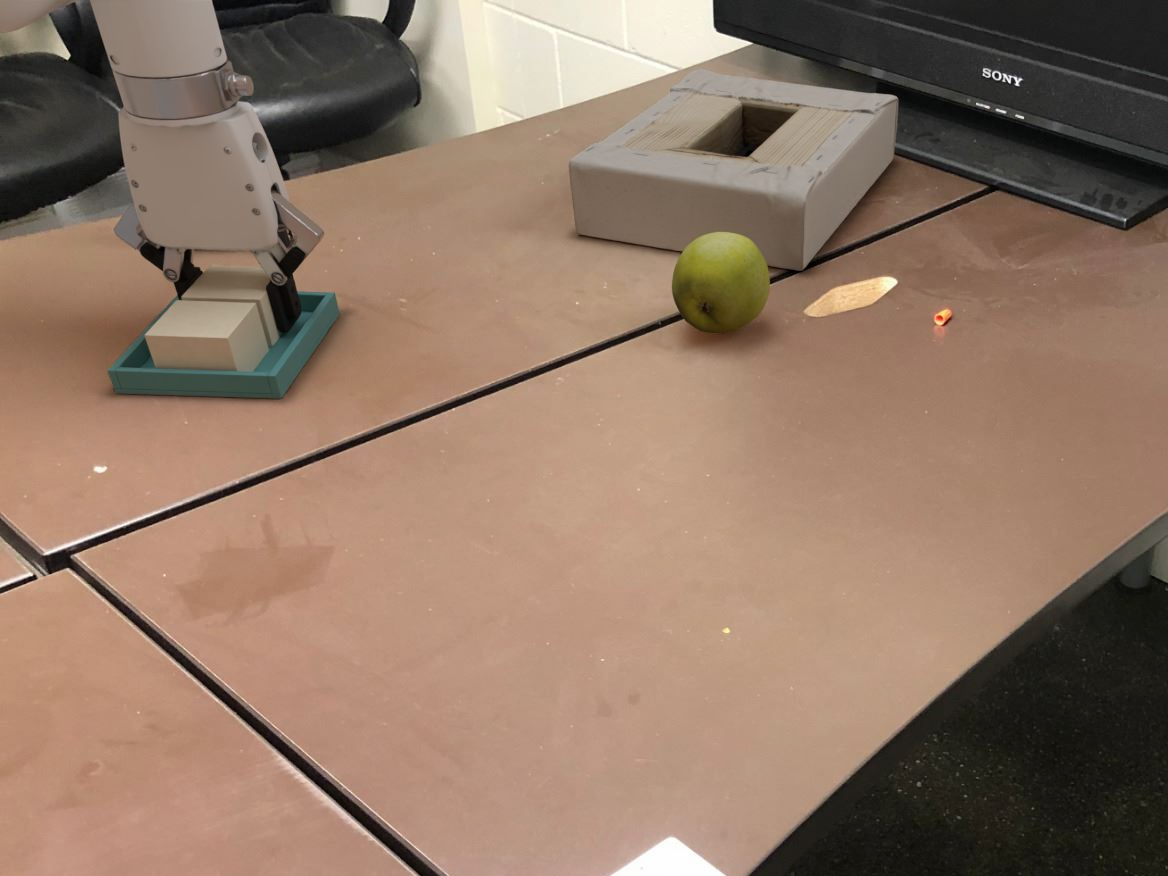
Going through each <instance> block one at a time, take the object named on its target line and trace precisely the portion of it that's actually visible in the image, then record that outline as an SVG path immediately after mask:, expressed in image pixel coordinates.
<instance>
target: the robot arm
mask: <svg viewBox="0 0 1168 876" xmlns="http://www.w3.org/2000/svg"><path fill="white" fill-rule="evenodd" d="M78 1H79V0H0V34H5V33H11V32H12V33H13V32H15V31H18V30H20V29H22V28H25V27H28V26H29V25H31V24H33V23H35V22H37V21H38V20H40V19H42V18H44V17H45V16H47V15H48V14H50V13H52V12H53V11H55V10H58V9H61V8H62V7H66V6H68V5H71V4H73V3H76V2H78ZM89 2H90V5H91V8H92V12H93V15H94V18H95V21H96V25H97V27H98V31H99V33H100V37H101V39H102V44H103V46H104V49H105V53H106V55H107V58H108V62H109V65H110V68H111V71H112V73H113V76H114V80H115V83H116V87H117V90H118V92H119V93H118V94H119V95H120V98H121V102H122V104H123V107H122V108H121V109H119V111H118V128H119V138H120V145H121V152H122V159H123V165H124V168H125V169H124V170H125V173H126V179H127V182H128V187H129V191H130V195H131V198H132V202H131V203H130V204H129V206H128V208H127V209H126V210H125V212H124V214H122V216H121V217H120V219H119V220H118V221H117V223H116V225H115V226H114V227H113V233H114V234H115V235H116V236H117V238H119V239H120V240H122V241H123V242H124V243H126V244H127V245H129V246H130V247H131V248H132V249H134V250H135V251H139V253H140V255H141V257H143V259H145V260H146V261H148V262H149V263H150V264H152V265H153V266H154V267H156V268H157V269H159V270H160V271H161V272H162V276H163V277H164V279H166V280H167V281H168V282H170V283H173V285H174V289H175V292H176V294H177V295H178V298H179V300H182V298H181V296H182V295H183V294H184V293H185V292H186V291H187V290H188V289H189V288H190V287H191V286H192V285H193V283H194V282H195V281H196V280H197V279H198V278H199V277H200V276H201V275H202V274H203V272H204V271H203V270H202V269H201V266H195V264H194V256H195V250H194V249H201V251H202V250H205V251H233V252H235V251H236V252H250V253H251V254H252V256H253V257H254V258H255V260H256V261H257V263H258V265H260V267H262V268H263V270H264V271H265V273H266V274H267V275H268V277H269V279H270V282H269V283H268V285H267V286H266V291H267V293H268V297H269V300H270V304H271V308H272V311H273V315H274V318H275V322H276V326H277V329H278V331H280V332H281V333H288V332H289V331H290V329H291V328H292V326H293V325H294V324H295V322H296V321H297V320H298V318H299V317H300V315H301V304H300V300H299V296H298V292H297V291H298V289H297V285H296V281H295V278H294V273H295V272H296V271H297V269H298V268H299V267H300V266H301V265H302V263H303V262H304V260H306V258H307V257H308V256H309V255H310V254H311V253H312V251H314V249H315V248H316V247H317V246H318V245H319V243H320V242H321V241H322V239H323V238H324V237H325V232H324V229H323V228H322V227H321V226H320V225H318V224H317V223H315V222H314V221H313V220H312V219H310V218H309V217H308V216H307V215H306V214H305V213H304V212H302V210H300V209H298V208H297V207H296V206H295V205H294V204H292V203H291V200H290V197H289V193H288V190H287V187H286V184H285V181H284V177H283V175H282V173H281V170H280V167H279V164H278V160H277V159H276V156H275V153H274V151H273V147H272V145H271V143H270V141H269V138H268V137H267V133H266V132H265V128H263V125H262V122H261V121H260V119H259V117H258V115H257V113H256V111H255V109H254V107H253V105H252V104H251V103H249V102H246V101H239V100H240V99H241V98H243V96H248V97H249V96H253V94H254V90H255V89H254V83H253V79H252V78H251V76H249V75H244V74H243V75H241V74H240V73H238V72H235V71H234V68H233V64H232V61H231V60H229V59H228V56H227V53H226V48H225V44H224V41H223V37H222V33H221V29H220V26H219V22H218V18H217V15H216V10H215V7H214V4H213V0H89ZM288 229H289V230H290V231H292V234H293V235H295V238H296V241H295V243H294V244H293V245H292V246H291V248H290V249H288V247H285V245H284V244H283V242H282V241H281V239H280V238H279V236H278V235H277V232H282V231H286V230H288ZM177 295H176V296H177Z"/></svg>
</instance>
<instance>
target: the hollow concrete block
mask: <svg viewBox="0 0 1168 876" xmlns="http://www.w3.org/2000/svg"><path fill="white" fill-rule="evenodd" d="M898 115H899V98H898V97H897V96H896V95H893V94H889V93H888V94H887V93H885V94H884V93H877V92H872V93H871V92H862V91H856V90H847V89H840V88H839V89H838V88H832V87H824V86H823V87H822V86H815V85H809V84H801V83H792V82H785V81H777V80H772V79H771V80H769V79H763V78H762V79H761V78H755V77H747V76H746V77H745V76H739V75H732V74H725V73H718V72H715V71H712V70H707V69H700V68H699V69H694V70H692V71H690V72H689V73H688V74H686V76H684V77H683V78H682V79H681V81H679V82H678V83H676V84H674V85H673V86H671V87H670V89H669V92H668V93H667V94H665V95H664V96H663V97H661V98H660V99H658V100H657V101H655V103H653V104H652V105H651V106H649V107H648V108H646V109H644V111H642V112H641V113H639V114H638V115H636V116H634V117H633V118H632V119H631V120H629V121H627V123H625V124H624V125H622V126H620V127H619V128H618V129H616V130H615V131H614V132H612V133H611V134H609V135H608V136H606V137H605V138H604V139H602V140H601V141H597V142H593V143H591V144H590V145H588V146H587V147H586V148H584V149H583V150H581V151H580V152H578V153H577V154H576V155H574V156H573V157H572V158H571V159H570V160H569V162H568V172H569V184H570V193H571V201H572V209H573V218H574V225H575V231H576V233H578V234H579V235H582V236H586V237H592V238H599V239H604V240H611V241H616V242H617V241H618V242H623V243H628V244H635V245H640V246H641V245H642V246H645V247H646V246H647V247H652V248H657V249H658V248H659V249H664V250H670V251H671V250H672V251H676V252H683V251H684V249H685V248H686V247H687V246H688V245H689V244H690V243H691V242H693V241H694V240H695V239H697V238H699V237H701V236H703V235H706V234H709V233H714V232H729V233H735V234H739V235H742V236H745V237H747V238H749V239H750V240H751V241H752V242H753V243H754V244H755V245H756V246H757V247H758V249H759V250H760V252H761V253H762V255H763V257H764V259H765V261H766V263H767V267H774V268H780V269H785V270H794V271H799V272H800V271H804V269H805V268H806V267H807V266H808V265H809V263H811V261H812V260H813V258H814V257H815V256H816V255H817V253H818V252H819V251H820V250H821V248H822V247H823V246H824V245H825V243H827V241H828V240H829V239H830V238H831V236H833V234H834V233H835V231H836V230H837V229H838V228H839V227H840V225H841V224H842V223H843V221H845V219H846V218H847V217H848V215H850V213H851V212H852V211H853V209H854V208H855V207H856V206H857V205H858V203H859V202H860V201H861V199H862V198H863V197H864V196H865V195H866V193H867V192H868V191H869V189H870V188H871V187H872V186H873V185H874V184H875V183H876V181H877V180H878V179H879V178H880V176H881V175H882V174H883V173H884V172H885V170H886V169H887V168H888V167H889V165H890V164H891V163H892V162H893V160H894V157H895V148H896V142H897V141H896V139H897V131H898V120H899V119H898Z"/></svg>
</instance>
